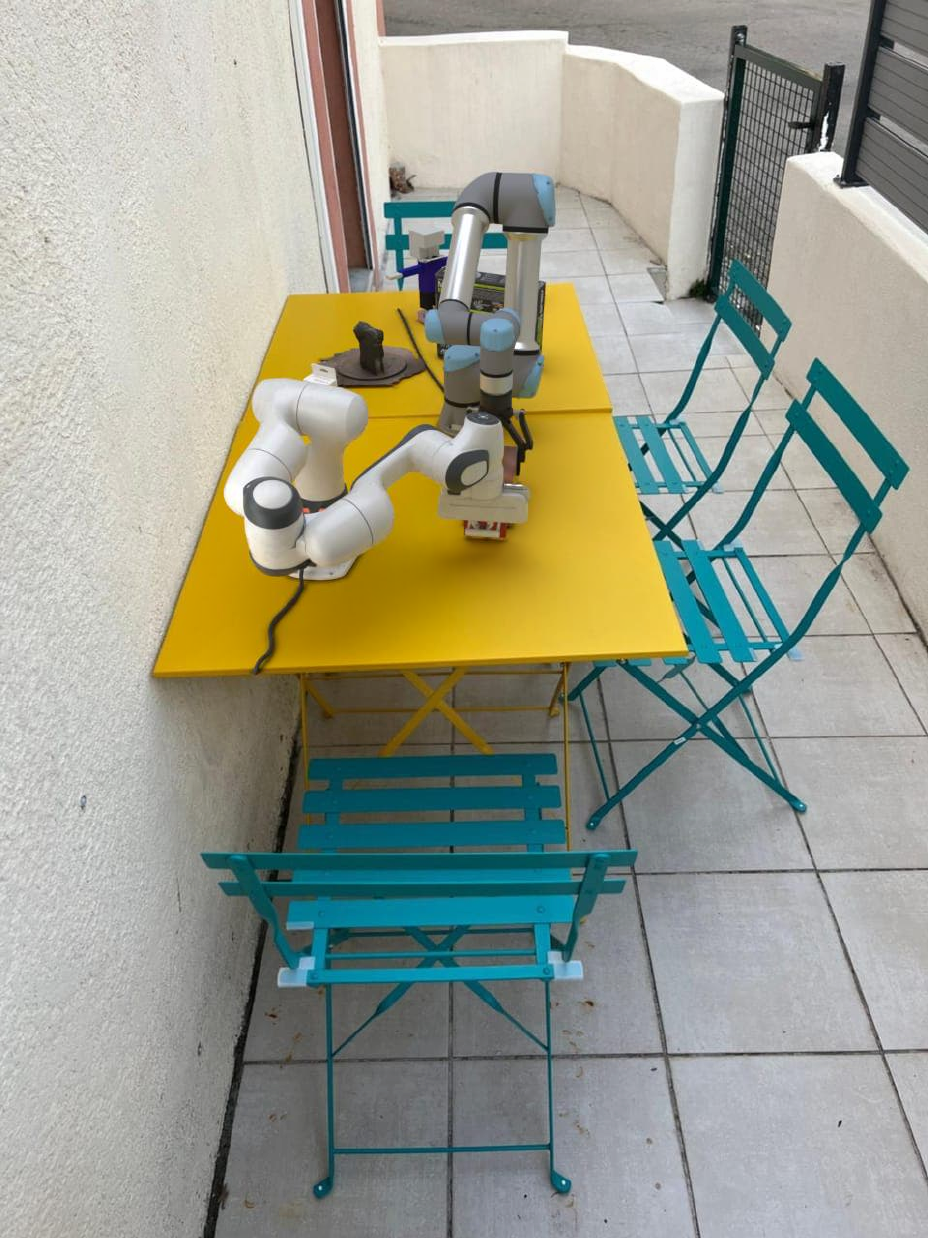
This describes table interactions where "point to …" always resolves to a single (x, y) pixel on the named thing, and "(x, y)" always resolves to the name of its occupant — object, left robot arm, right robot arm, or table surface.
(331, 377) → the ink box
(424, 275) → the toy
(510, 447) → the cabinet
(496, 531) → the drawer
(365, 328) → the sculpture
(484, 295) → the box
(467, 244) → the right robot arm
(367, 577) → the table surface
